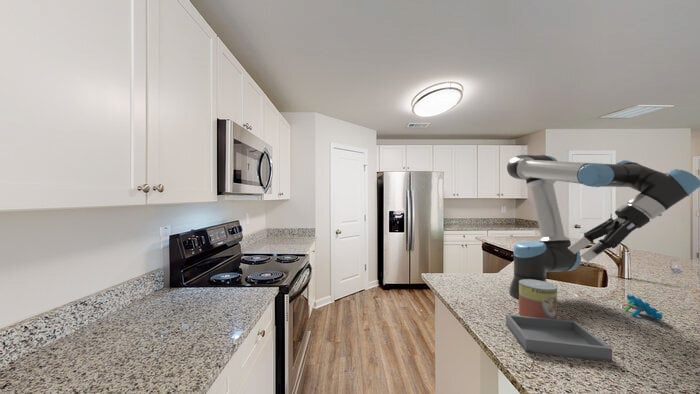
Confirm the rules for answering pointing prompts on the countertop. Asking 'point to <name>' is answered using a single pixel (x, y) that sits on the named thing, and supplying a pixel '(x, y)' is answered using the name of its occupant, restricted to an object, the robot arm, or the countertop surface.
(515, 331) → the tray
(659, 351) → the countertop surface
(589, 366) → the countertop surface
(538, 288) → the canned food
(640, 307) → the blue irregular piece
